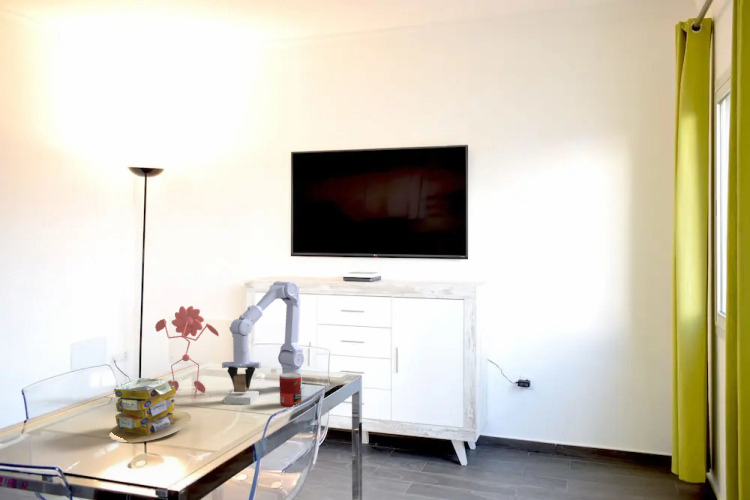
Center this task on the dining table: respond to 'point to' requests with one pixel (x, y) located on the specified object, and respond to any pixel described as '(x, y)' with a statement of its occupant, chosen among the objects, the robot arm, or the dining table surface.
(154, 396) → the stacked yellow food packages
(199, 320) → the figurine
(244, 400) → the grey plinth
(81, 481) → the dining table surface
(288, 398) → the canned food
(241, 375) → the walnut block
